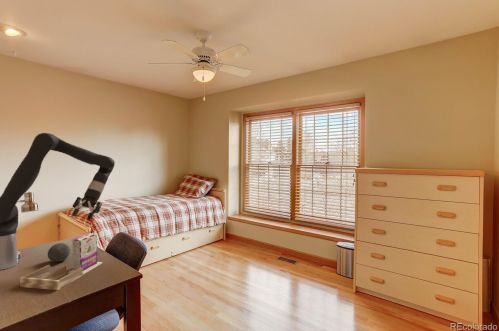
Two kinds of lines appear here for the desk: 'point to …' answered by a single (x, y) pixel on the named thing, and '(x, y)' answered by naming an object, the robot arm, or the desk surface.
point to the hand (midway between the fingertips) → (81, 218)
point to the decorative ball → (58, 252)
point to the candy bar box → (84, 251)
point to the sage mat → (89, 268)
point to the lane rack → (49, 278)
